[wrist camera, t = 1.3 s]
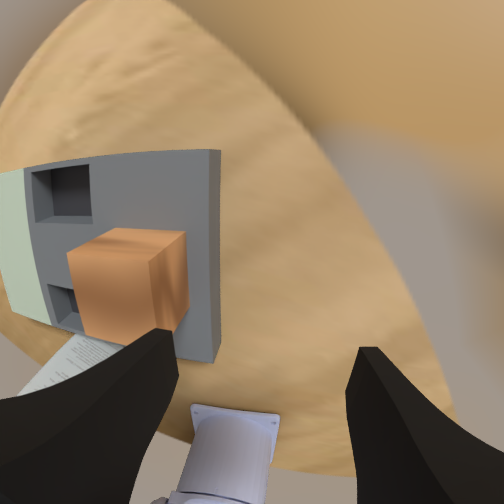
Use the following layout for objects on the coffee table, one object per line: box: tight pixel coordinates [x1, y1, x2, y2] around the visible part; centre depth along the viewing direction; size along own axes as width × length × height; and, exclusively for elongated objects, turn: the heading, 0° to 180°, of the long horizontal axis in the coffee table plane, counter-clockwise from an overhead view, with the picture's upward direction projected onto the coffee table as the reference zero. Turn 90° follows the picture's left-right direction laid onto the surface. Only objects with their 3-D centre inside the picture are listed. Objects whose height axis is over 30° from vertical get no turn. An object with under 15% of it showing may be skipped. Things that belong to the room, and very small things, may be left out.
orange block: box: [67, 228, 190, 346], centre depth 14 cm, size 4×4×4 cm
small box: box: [17, 334, 124, 396], centre depth 16 cm, size 8×6×13 cm
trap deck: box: [0, 149, 221, 363], centre depth 18 cm, size 13×21×2 cm, turn 88°
